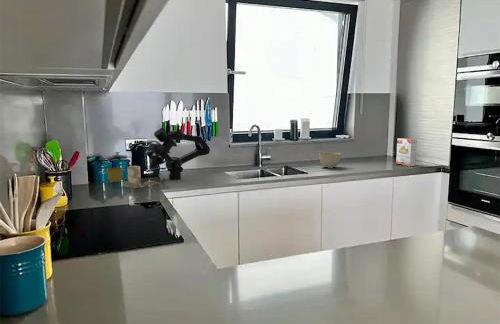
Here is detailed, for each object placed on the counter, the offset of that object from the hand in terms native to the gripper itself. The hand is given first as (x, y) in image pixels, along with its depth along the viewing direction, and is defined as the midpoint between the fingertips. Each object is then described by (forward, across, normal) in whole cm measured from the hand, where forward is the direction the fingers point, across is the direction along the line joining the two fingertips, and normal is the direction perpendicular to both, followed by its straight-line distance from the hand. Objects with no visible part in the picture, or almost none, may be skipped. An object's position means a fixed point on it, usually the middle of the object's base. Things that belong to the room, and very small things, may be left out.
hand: (150, 167), depth 224 cm
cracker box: (-116, +84, +128) cm, 192 cm away
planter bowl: (-83, +44, +97) cm, 135 cm away
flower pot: (+15, -23, +1) cm, 27 cm away
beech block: (+14, 0, -1) cm, 14 cm away
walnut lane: (+11, 0, +4) cm, 11 cm away
